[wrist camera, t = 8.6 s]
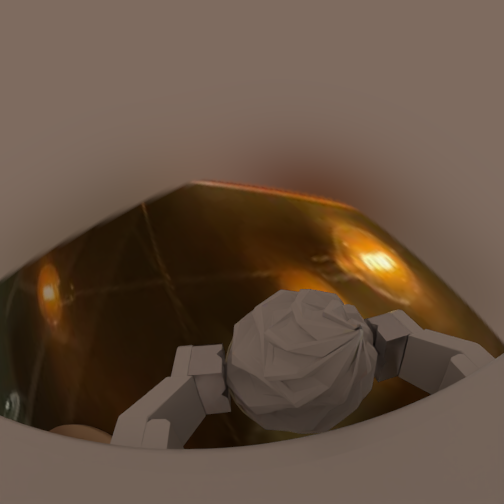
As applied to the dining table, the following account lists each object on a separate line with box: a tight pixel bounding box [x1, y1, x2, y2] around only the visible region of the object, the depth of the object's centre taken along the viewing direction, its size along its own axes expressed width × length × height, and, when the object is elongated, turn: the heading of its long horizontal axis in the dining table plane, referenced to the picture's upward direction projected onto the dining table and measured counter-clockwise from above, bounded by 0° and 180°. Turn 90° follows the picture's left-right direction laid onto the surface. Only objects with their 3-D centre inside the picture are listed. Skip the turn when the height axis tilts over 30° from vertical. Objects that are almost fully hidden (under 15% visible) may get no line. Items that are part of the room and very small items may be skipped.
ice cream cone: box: [225, 289, 377, 434], centre depth 10 cm, size 5×5×15 cm
